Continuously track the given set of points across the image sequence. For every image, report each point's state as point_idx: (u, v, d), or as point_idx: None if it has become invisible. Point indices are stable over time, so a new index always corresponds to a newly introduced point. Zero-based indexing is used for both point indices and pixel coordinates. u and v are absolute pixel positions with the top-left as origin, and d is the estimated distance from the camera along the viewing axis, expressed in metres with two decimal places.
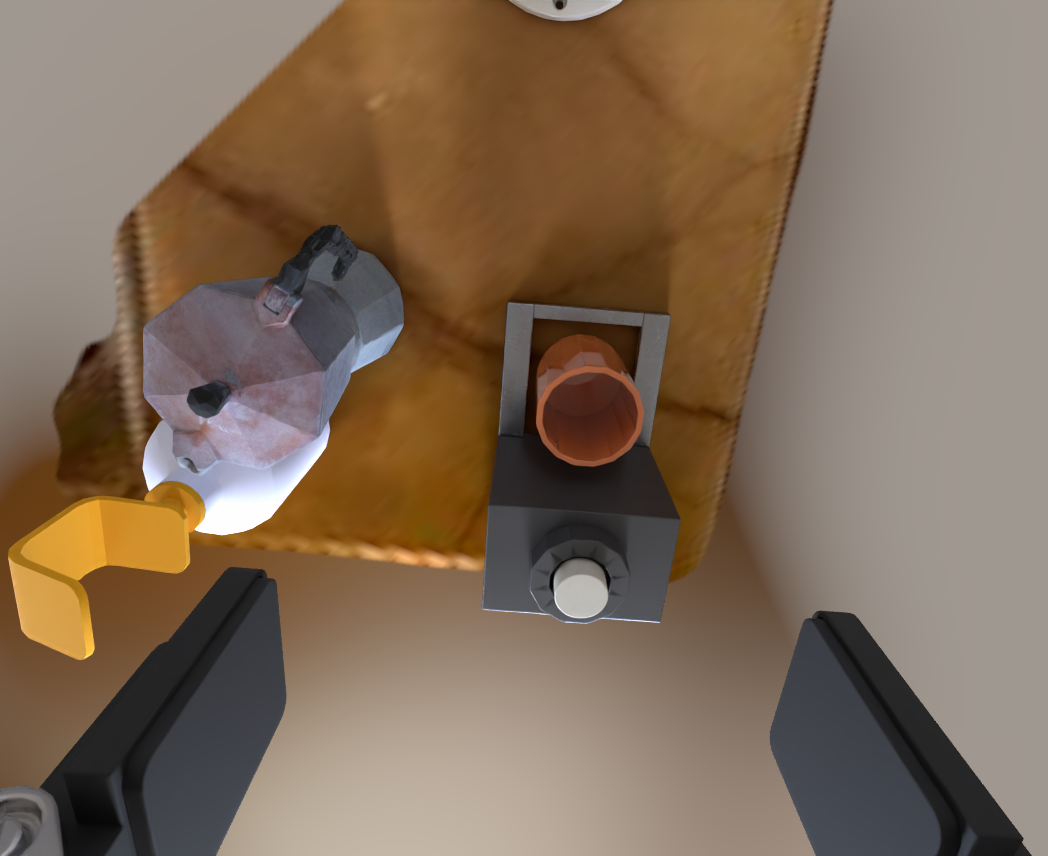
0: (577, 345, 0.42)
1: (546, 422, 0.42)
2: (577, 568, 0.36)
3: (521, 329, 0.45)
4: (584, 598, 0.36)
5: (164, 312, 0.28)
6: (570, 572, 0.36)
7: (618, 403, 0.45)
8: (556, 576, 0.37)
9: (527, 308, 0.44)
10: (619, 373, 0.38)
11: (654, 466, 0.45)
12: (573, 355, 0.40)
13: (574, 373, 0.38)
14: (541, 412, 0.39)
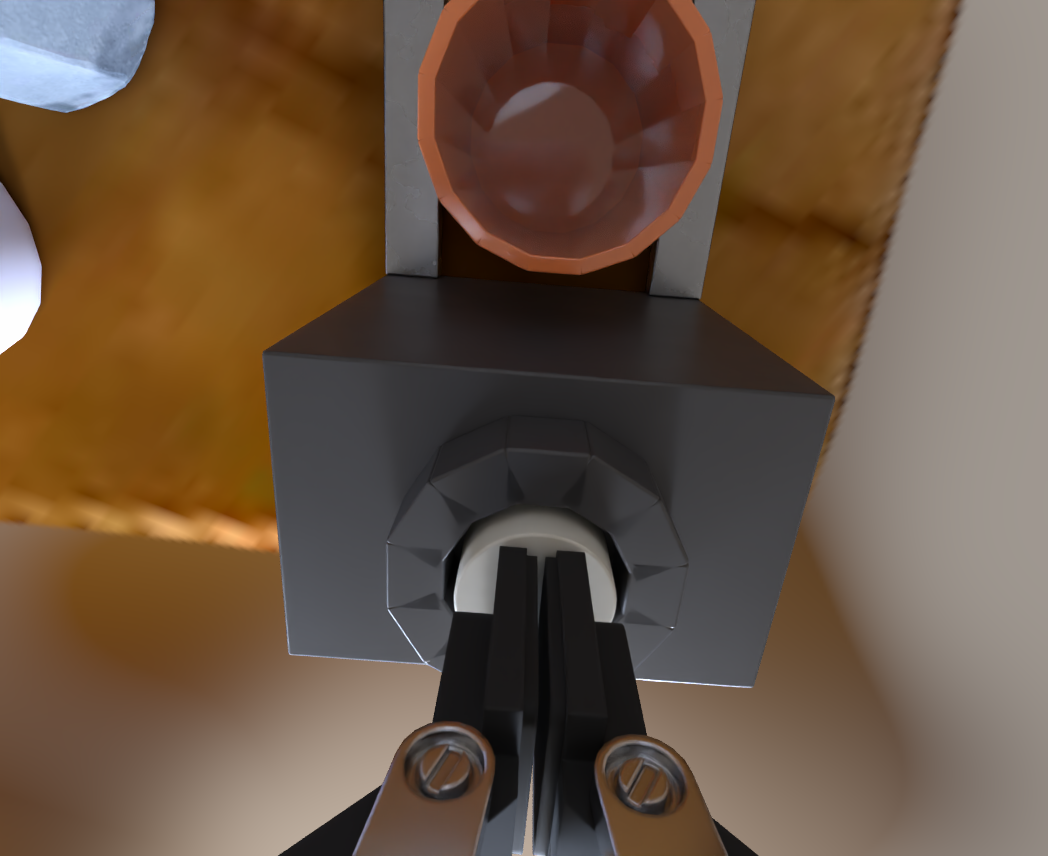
0: None
1: (463, 185, 0.17)
2: (522, 518, 0.12)
3: (419, 8, 0.20)
4: None
5: None
6: (500, 531, 0.12)
7: (638, 182, 0.20)
8: (465, 543, 0.13)
9: None
10: None
11: (721, 319, 0.20)
12: None
13: None
14: (429, 101, 0.14)
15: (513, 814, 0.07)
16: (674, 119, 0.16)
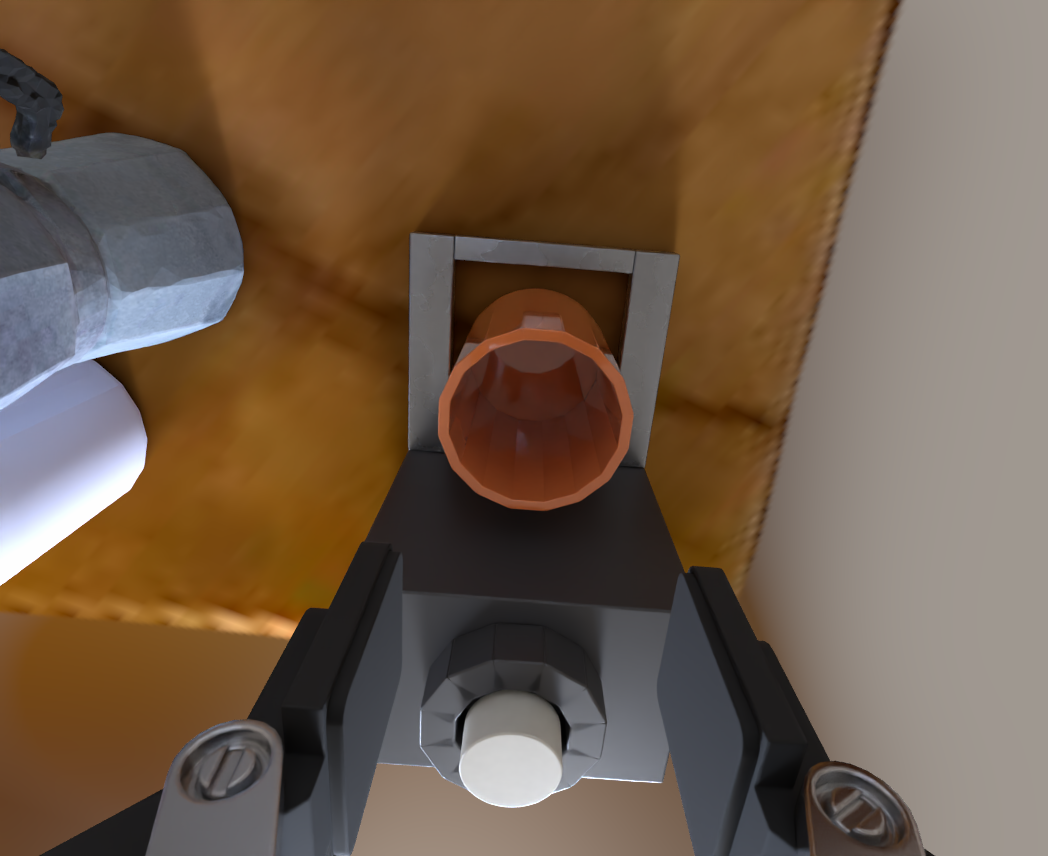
0: (522, 301, 0.25)
1: (467, 431, 0.24)
2: (503, 716, 0.19)
3: (435, 278, 0.27)
4: (515, 775, 0.19)
5: None
6: (488, 727, 0.18)
7: (593, 400, 0.28)
8: (466, 725, 0.19)
9: (443, 242, 0.27)
10: (587, 342, 0.20)
11: (652, 503, 0.27)
12: (510, 314, 0.23)
13: (503, 342, 0.20)
14: (446, 415, 0.21)
15: (308, 815, 0.07)
16: (611, 390, 0.24)
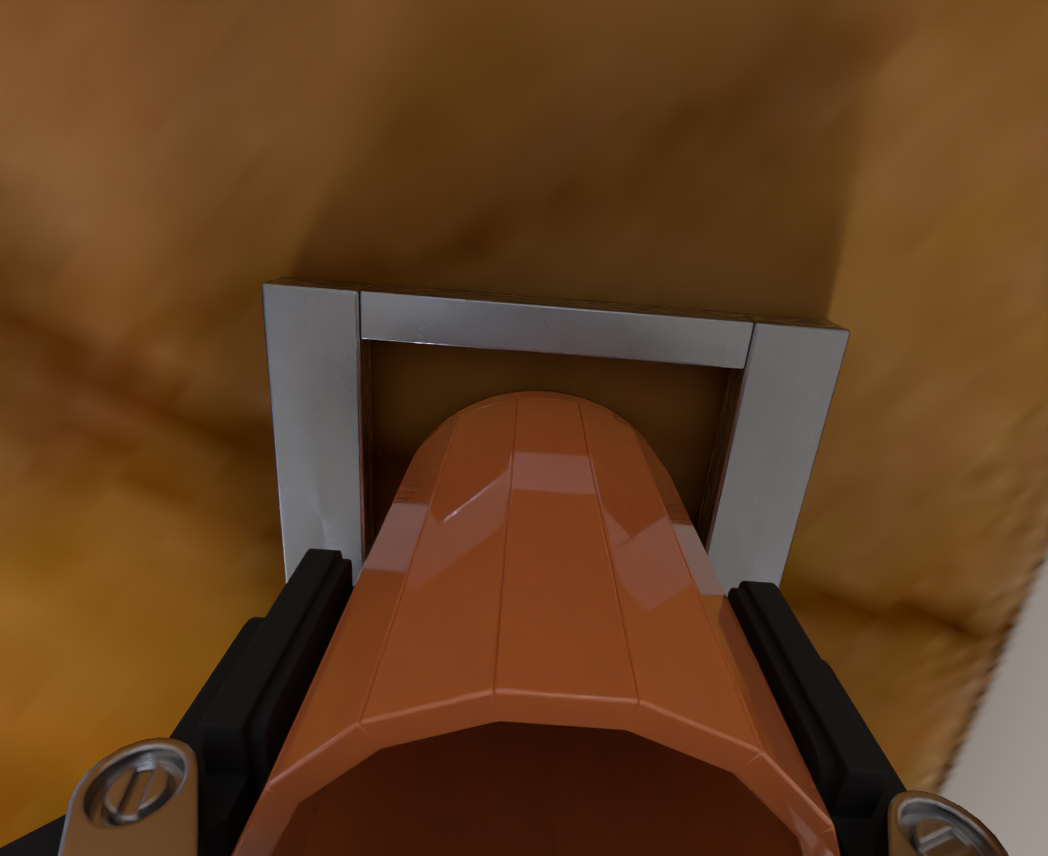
0: (504, 453, 0.11)
1: (369, 785, 0.10)
2: None
3: (322, 378, 0.13)
4: None
5: None
6: None
7: None
8: None
9: (335, 305, 0.12)
10: (717, 722, 0.06)
11: None
12: (468, 526, 0.09)
13: (422, 731, 0.06)
14: None
15: (225, 838, 0.07)
16: None
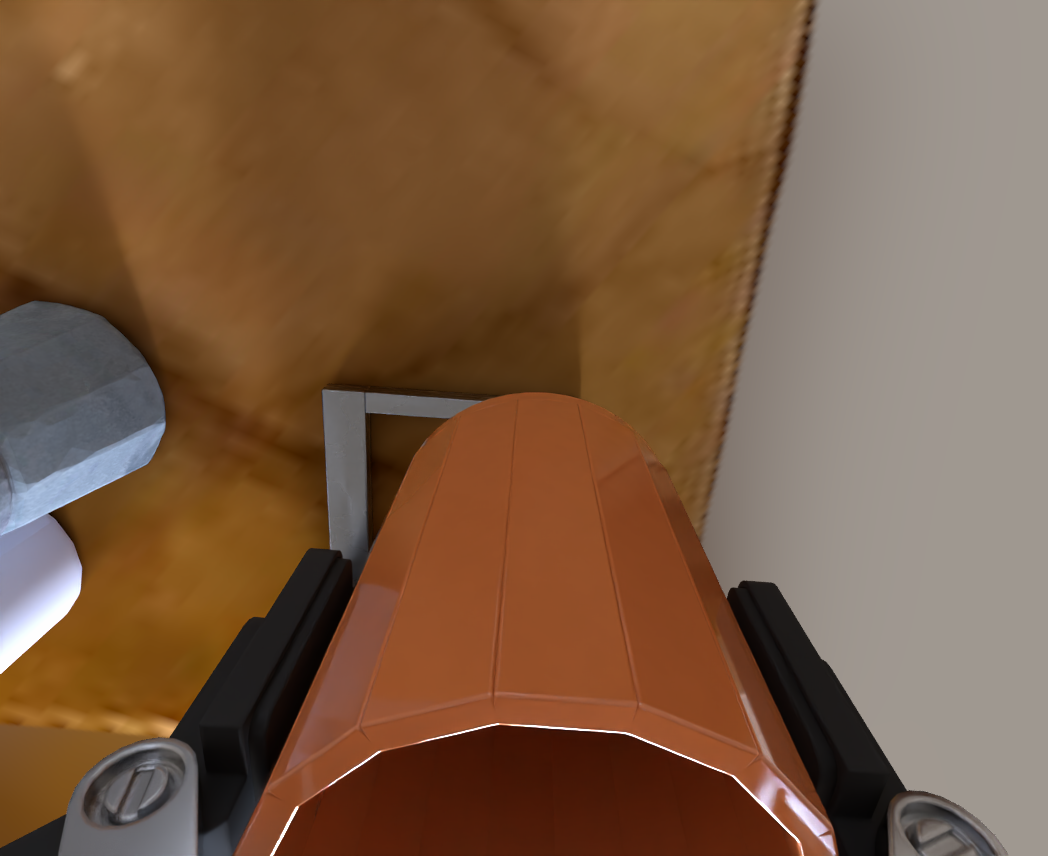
0: (504, 455, 0.11)
1: (368, 787, 0.10)
2: None
3: (348, 430, 0.28)
4: None
5: None
6: None
7: None
8: None
9: (354, 398, 0.28)
10: (716, 725, 0.06)
11: None
12: (468, 528, 0.09)
13: (422, 734, 0.06)
14: None
15: (225, 838, 0.07)
16: None
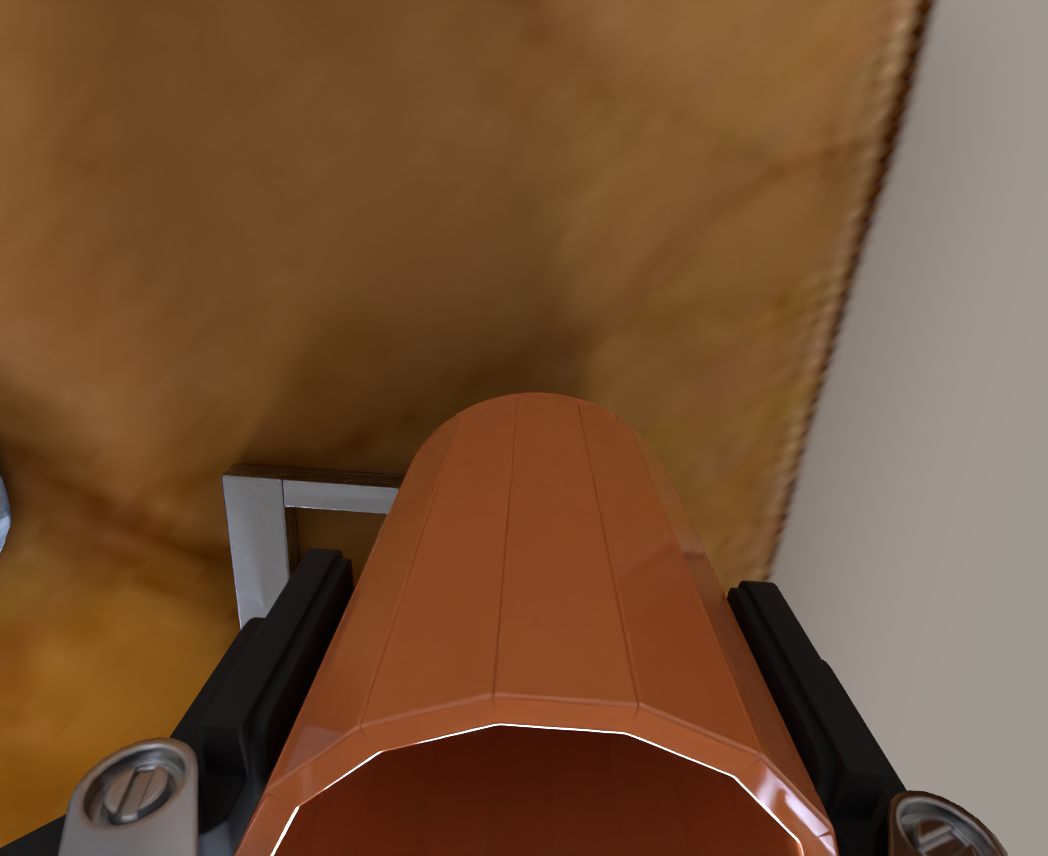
0: (504, 455, 0.11)
1: (369, 787, 0.10)
2: None
3: (261, 529, 0.20)
4: None
5: None
6: None
7: None
8: None
9: (267, 487, 0.20)
10: (716, 725, 0.06)
11: None
12: (468, 528, 0.09)
13: (422, 734, 0.06)
14: None
15: (225, 838, 0.07)
16: None
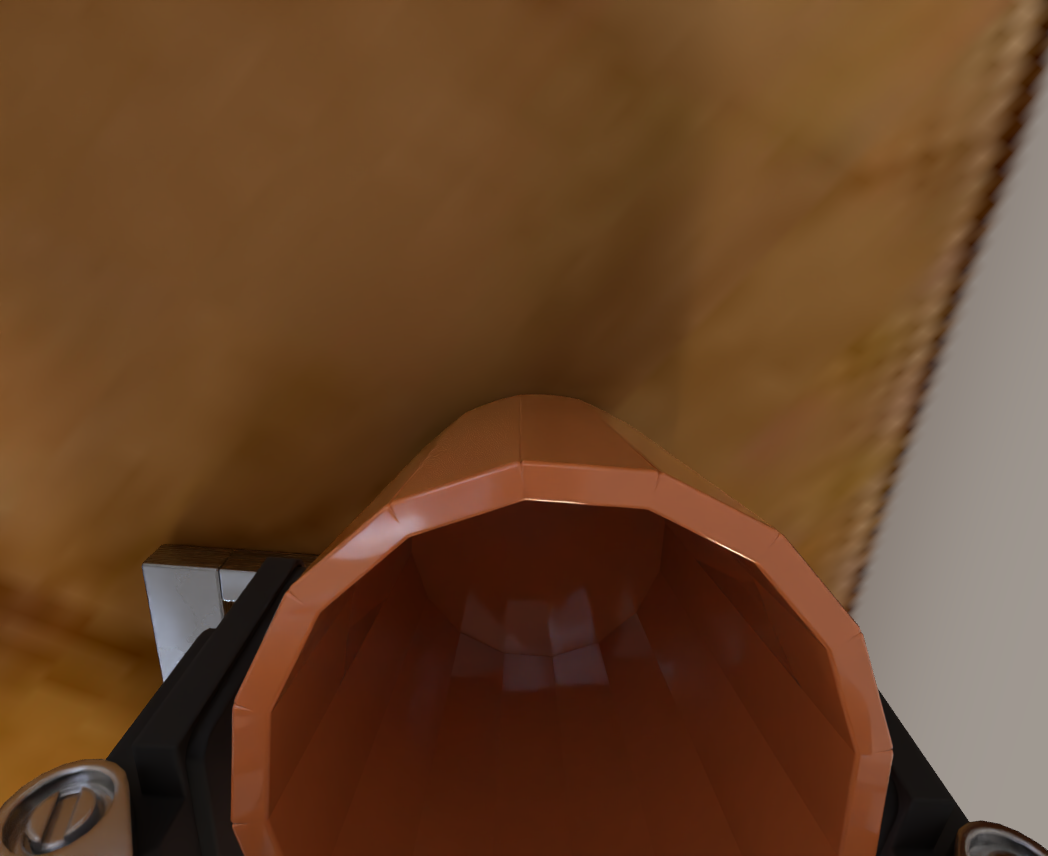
0: (512, 408, 0.11)
1: (368, 740, 0.09)
2: None
3: (195, 627, 0.16)
4: None
5: None
6: None
7: (666, 621, 0.13)
8: None
9: (200, 578, 0.16)
10: (735, 509, 0.06)
11: None
12: (483, 432, 0.09)
13: (450, 510, 0.06)
14: (257, 757, 0.06)
15: None
16: (743, 625, 0.09)
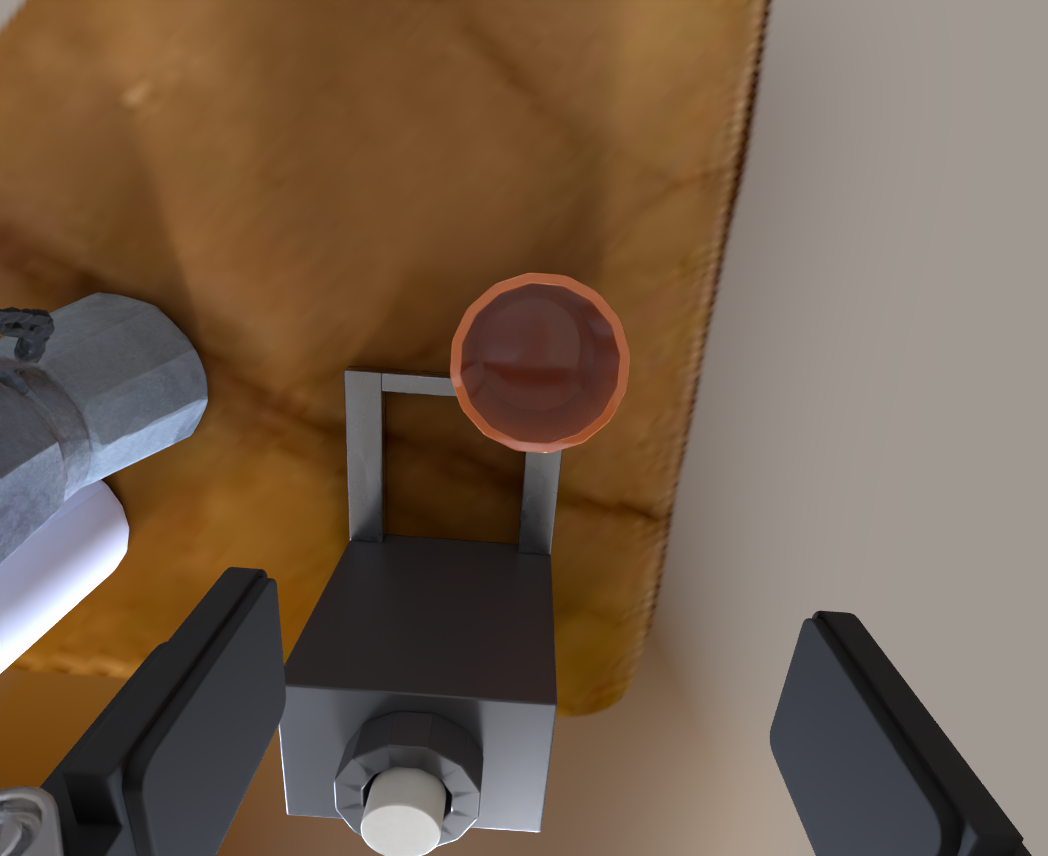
0: None
1: (475, 392, 0.26)
2: (394, 790, 0.24)
3: (366, 406, 0.33)
4: (404, 835, 0.24)
5: None
6: (382, 799, 0.24)
7: (591, 381, 0.30)
8: (369, 794, 0.25)
9: (372, 378, 0.32)
10: (586, 286, 0.23)
11: (547, 592, 0.33)
12: None
13: (511, 285, 0.23)
14: (458, 355, 0.23)
15: None
16: (608, 353, 0.26)
